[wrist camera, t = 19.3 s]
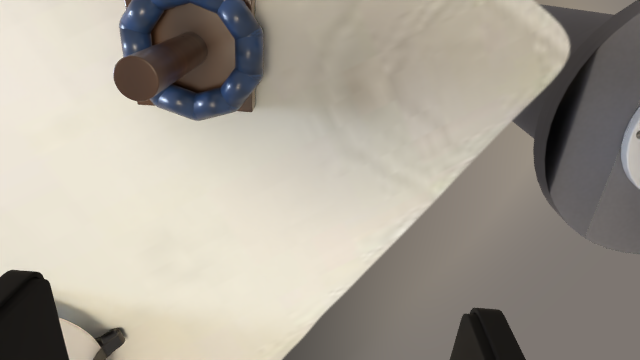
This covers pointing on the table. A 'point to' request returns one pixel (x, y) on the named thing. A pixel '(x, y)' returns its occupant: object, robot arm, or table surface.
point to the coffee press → (89, 342)
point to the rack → (181, 56)
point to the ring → (248, 55)
